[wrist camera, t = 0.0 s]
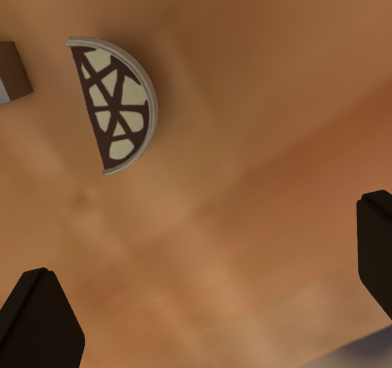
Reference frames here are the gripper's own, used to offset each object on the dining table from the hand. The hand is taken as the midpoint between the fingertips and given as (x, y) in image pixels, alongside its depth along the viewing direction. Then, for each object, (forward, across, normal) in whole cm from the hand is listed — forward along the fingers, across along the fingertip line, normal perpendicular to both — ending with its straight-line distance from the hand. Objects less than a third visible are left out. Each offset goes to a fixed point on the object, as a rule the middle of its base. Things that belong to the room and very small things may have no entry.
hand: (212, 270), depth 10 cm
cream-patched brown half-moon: (+31, +5, -2) cm, 32 cm away
